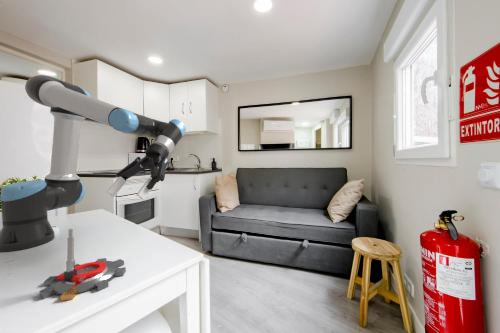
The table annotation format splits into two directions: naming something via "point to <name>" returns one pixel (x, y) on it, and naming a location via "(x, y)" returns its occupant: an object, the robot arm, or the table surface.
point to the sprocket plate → (94, 282)
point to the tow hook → (71, 270)
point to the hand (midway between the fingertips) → (124, 195)
